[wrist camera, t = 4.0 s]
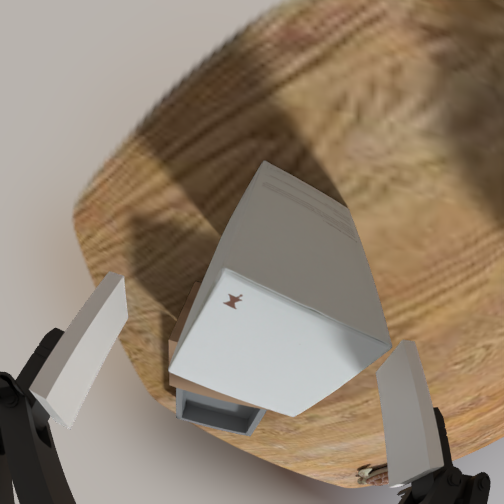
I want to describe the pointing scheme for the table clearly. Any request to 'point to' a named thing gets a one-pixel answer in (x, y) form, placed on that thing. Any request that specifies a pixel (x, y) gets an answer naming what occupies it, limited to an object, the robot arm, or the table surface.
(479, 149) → the table surface
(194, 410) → the tray
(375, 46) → the table surface
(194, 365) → the supplement box
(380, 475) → the decorative turtle
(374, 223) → the table surface
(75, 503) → the robot arm
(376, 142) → the table surface
